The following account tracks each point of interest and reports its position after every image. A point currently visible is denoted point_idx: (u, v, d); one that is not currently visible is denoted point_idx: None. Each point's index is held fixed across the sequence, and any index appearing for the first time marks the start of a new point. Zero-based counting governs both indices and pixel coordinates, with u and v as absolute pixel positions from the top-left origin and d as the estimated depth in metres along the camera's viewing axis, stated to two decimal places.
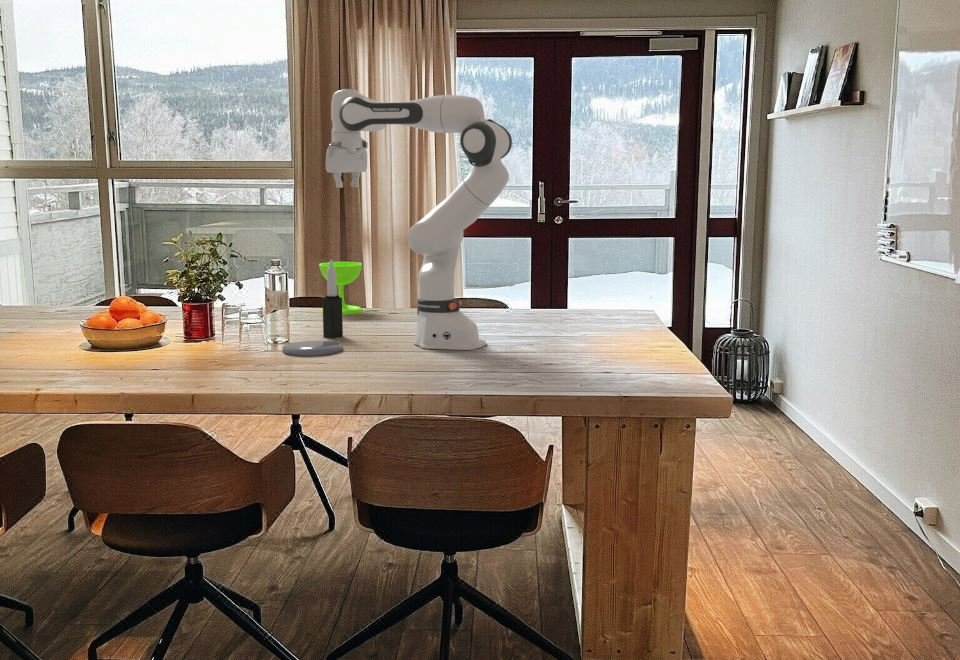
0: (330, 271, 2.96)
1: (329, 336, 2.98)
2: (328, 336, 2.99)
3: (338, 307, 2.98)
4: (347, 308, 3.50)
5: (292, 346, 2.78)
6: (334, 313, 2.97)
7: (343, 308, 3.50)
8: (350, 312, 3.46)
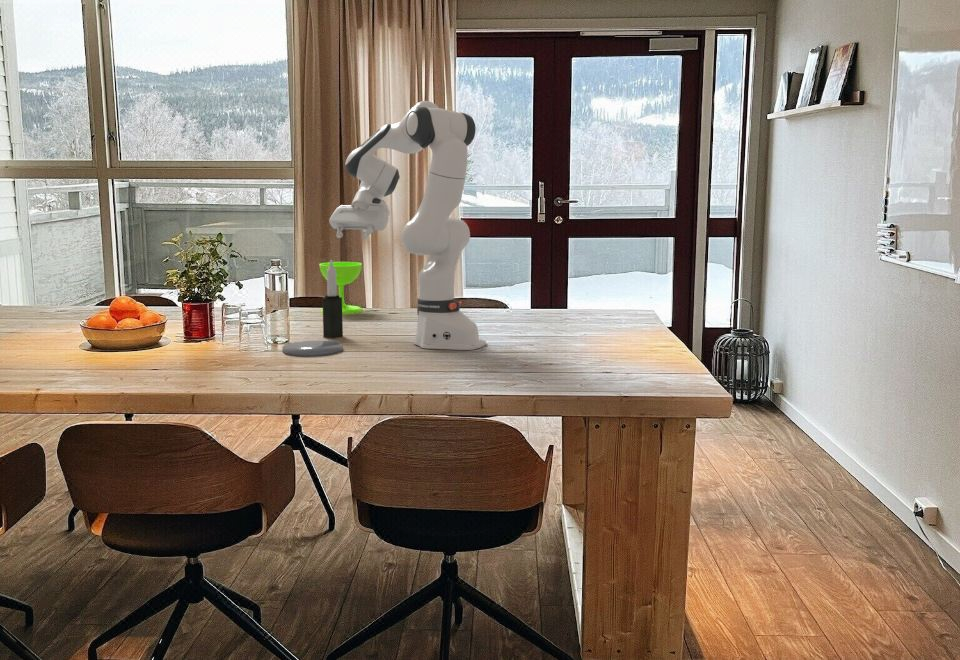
0: (331, 271, 2.96)
1: (329, 336, 2.98)
2: (328, 336, 2.99)
3: (338, 307, 2.98)
4: (347, 308, 3.50)
5: (292, 346, 2.78)
6: (334, 313, 2.97)
7: (343, 308, 3.50)
8: (350, 312, 3.46)
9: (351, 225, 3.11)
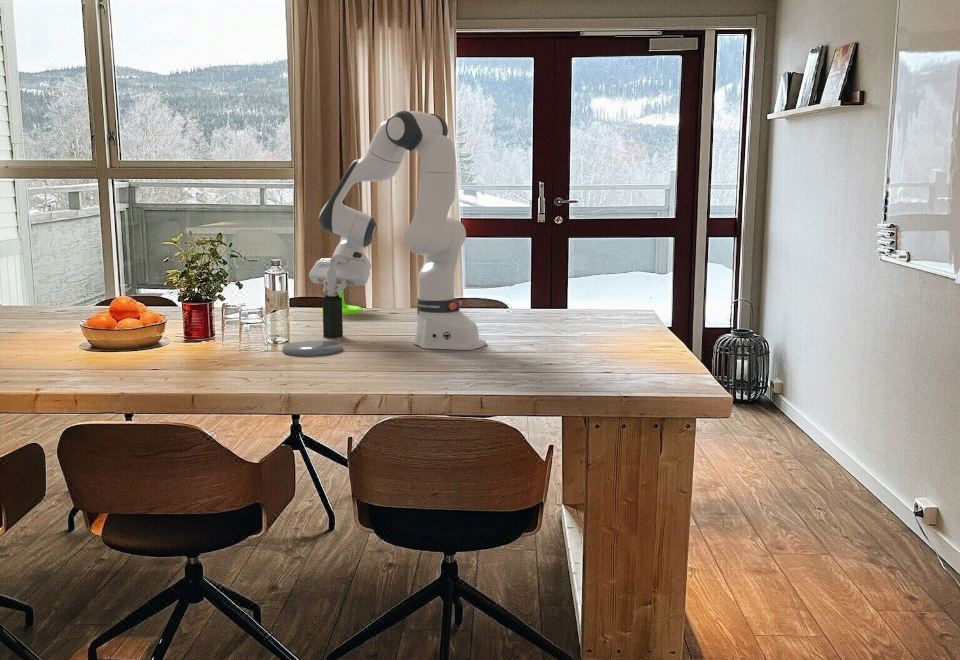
0: (330, 271, 2.96)
1: (329, 336, 2.98)
2: (328, 336, 2.99)
3: (338, 307, 2.98)
4: (347, 308, 3.50)
5: (292, 346, 2.78)
6: (334, 313, 2.97)
7: (343, 308, 3.50)
8: (350, 312, 3.46)
9: None
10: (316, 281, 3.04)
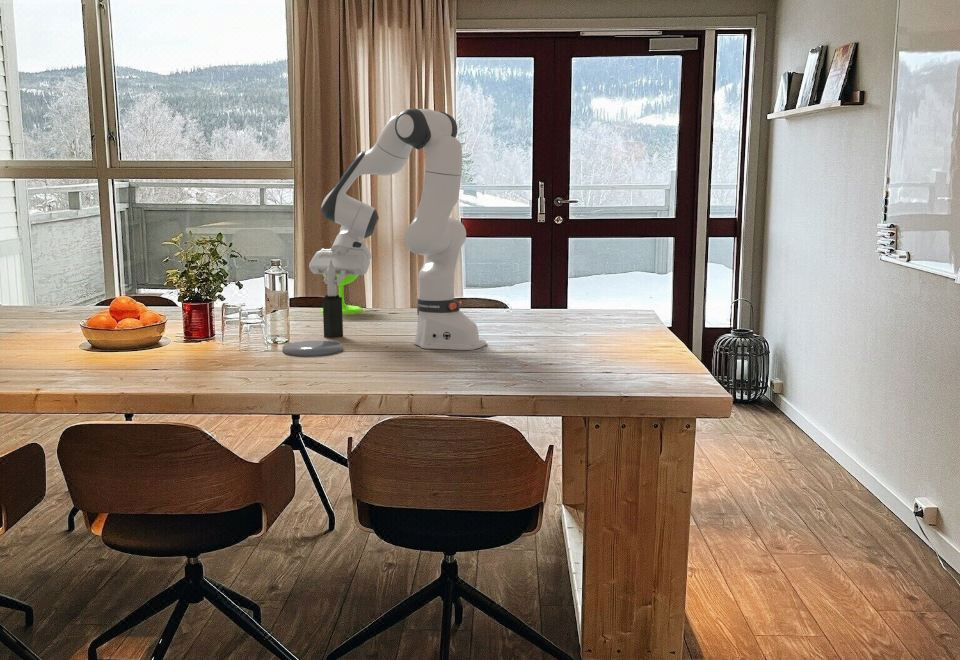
0: (330, 271, 2.96)
1: (329, 336, 2.99)
2: (328, 336, 2.99)
3: (337, 307, 2.98)
4: (347, 308, 3.50)
5: (292, 346, 2.78)
6: (333, 313, 2.97)
7: (343, 308, 3.50)
8: (350, 312, 3.46)
9: None
10: (316, 272, 3.03)
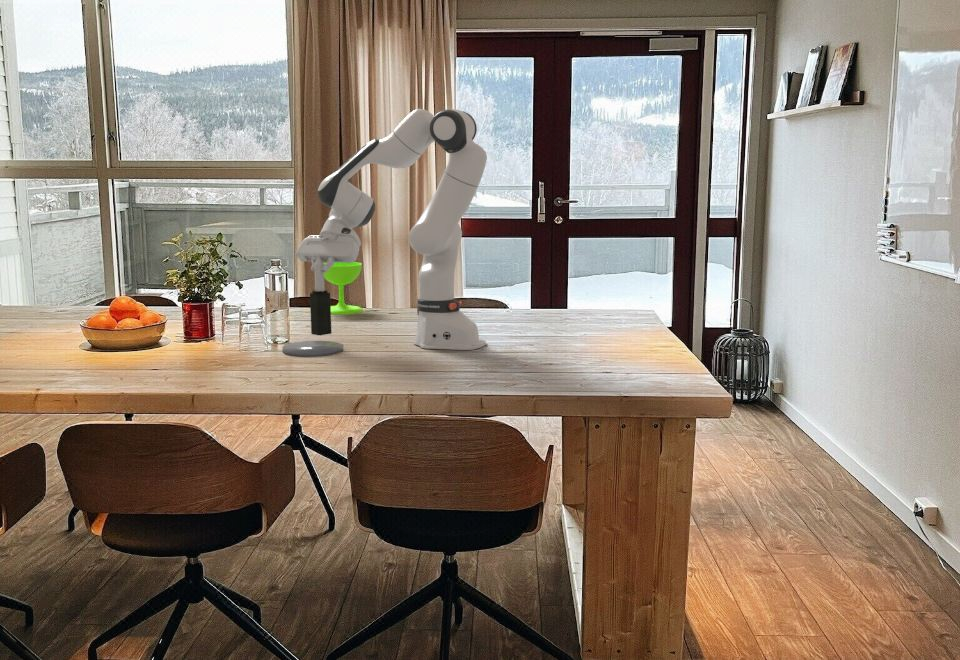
0: (317, 265, 2.83)
1: (316, 333, 2.85)
2: (315, 333, 2.86)
3: (325, 303, 2.84)
4: (347, 308, 3.50)
5: (292, 346, 2.78)
6: (321, 309, 2.83)
7: (343, 308, 3.50)
8: (350, 312, 3.46)
9: None
10: (303, 259, 2.89)
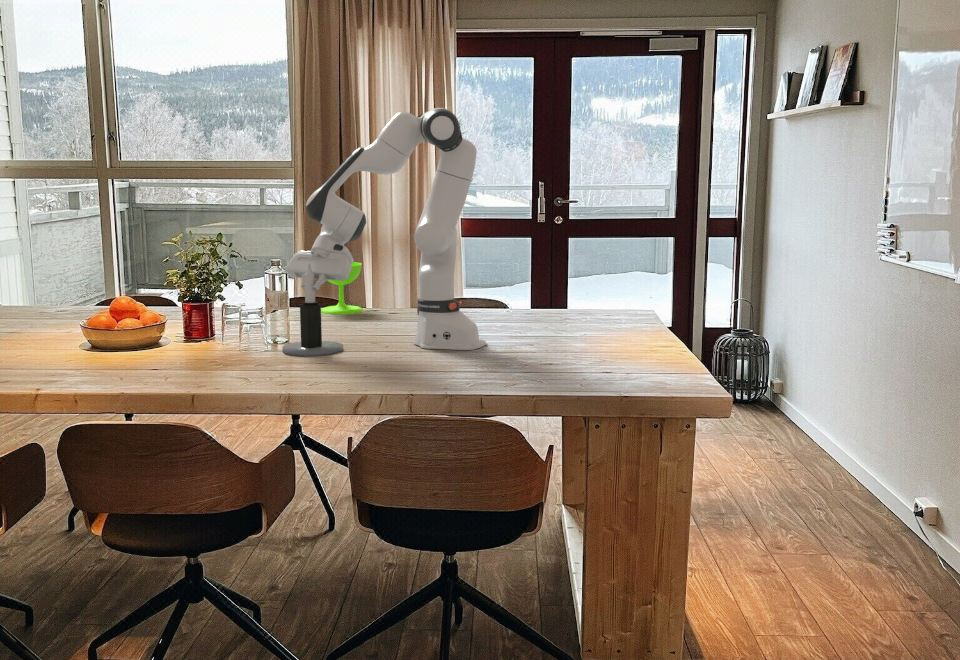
0: (308, 275, 2.74)
1: (306, 346, 2.76)
2: (305, 346, 2.77)
3: (315, 315, 2.75)
4: (347, 308, 3.50)
5: (292, 346, 2.78)
6: (311, 321, 2.75)
7: (343, 308, 3.50)
8: (350, 312, 3.46)
9: None
10: (294, 275, 2.80)
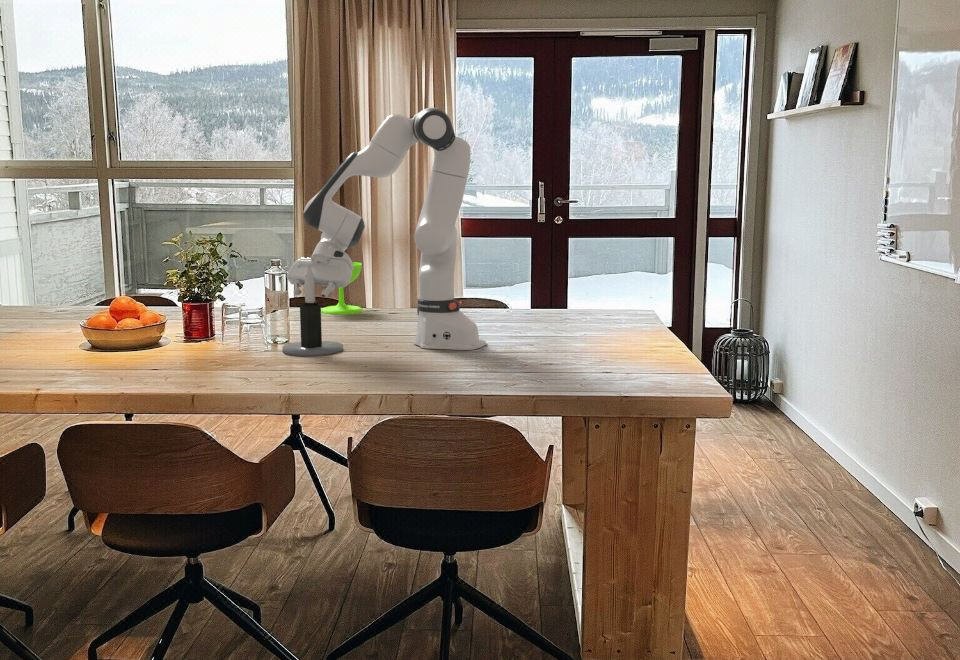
0: (308, 275, 2.74)
1: (306, 346, 2.76)
2: (305, 346, 2.77)
3: (315, 315, 2.75)
4: (347, 308, 3.50)
5: (292, 346, 2.78)
6: (311, 321, 2.75)
7: (343, 308, 3.50)
8: (350, 312, 3.46)
9: None
10: None
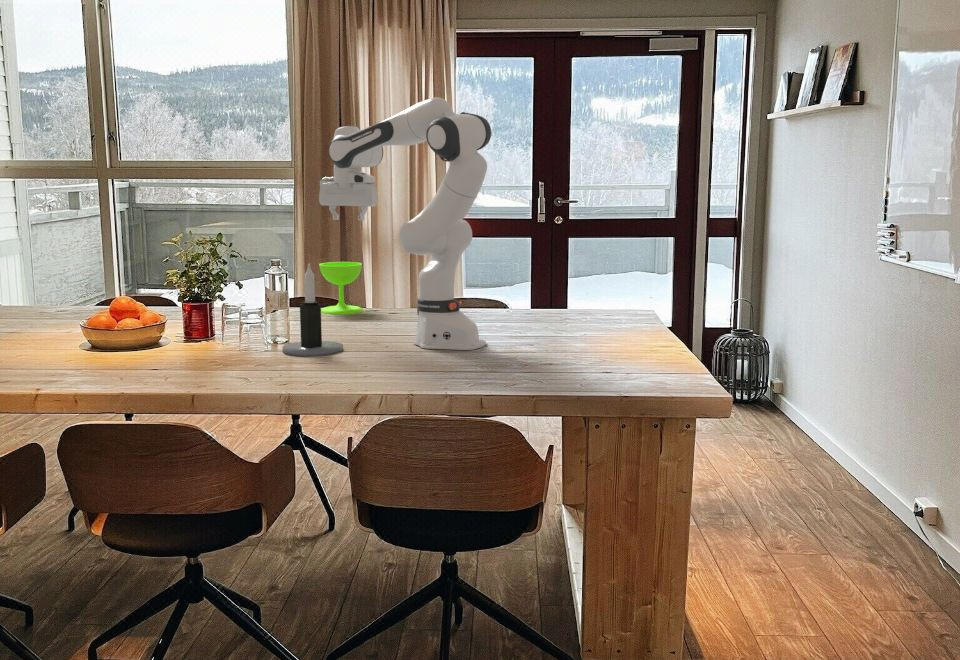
0: (308, 275, 2.74)
1: (306, 346, 2.76)
2: (305, 346, 2.77)
3: (315, 315, 2.75)
4: (347, 308, 3.50)
5: (292, 346, 2.78)
6: (311, 321, 2.75)
7: (343, 308, 3.50)
8: (350, 312, 3.46)
9: None
10: None
